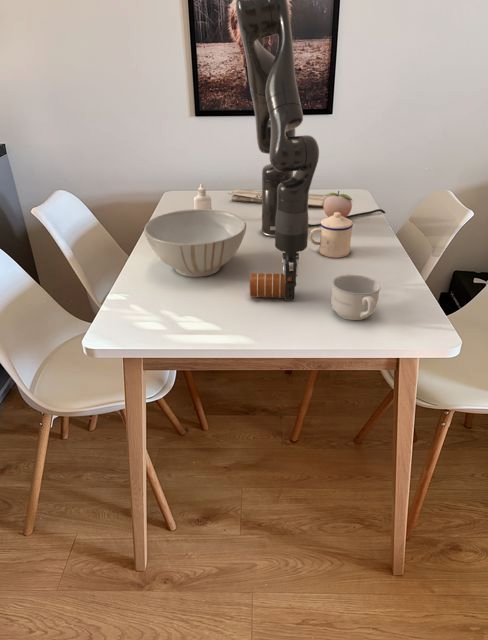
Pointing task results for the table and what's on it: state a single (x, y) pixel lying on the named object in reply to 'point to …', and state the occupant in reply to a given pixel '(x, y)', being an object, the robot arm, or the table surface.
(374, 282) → the teacup
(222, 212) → the decorative bowl
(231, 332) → the table surface
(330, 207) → the decorative fruit
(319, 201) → the newspaper
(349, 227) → the teacup with lid
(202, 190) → the eye dropper bottle
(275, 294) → the brown striped cylinder
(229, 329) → the table surface
